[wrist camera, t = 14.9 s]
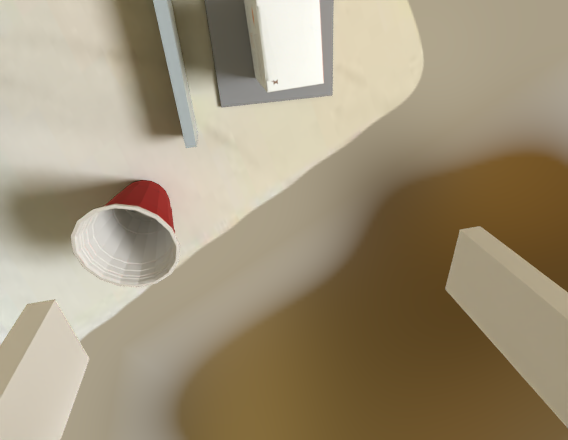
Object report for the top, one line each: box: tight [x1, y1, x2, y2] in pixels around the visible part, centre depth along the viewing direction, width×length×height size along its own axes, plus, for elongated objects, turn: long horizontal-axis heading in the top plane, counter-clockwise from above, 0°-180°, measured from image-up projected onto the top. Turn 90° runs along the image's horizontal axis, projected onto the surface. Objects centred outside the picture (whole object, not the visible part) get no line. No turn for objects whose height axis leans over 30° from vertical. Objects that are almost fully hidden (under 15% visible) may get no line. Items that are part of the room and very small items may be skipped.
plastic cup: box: [71, 180, 180, 287], centre depth 40 cm, size 11×11×12 cm
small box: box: [244, 0, 324, 92], centre depth 33 cm, size 8×6×10 cm
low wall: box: [153, 0, 198, 148], centre depth 35 cm, size 1×20×5 cm, turn 4°
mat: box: [205, 0, 333, 107], centre depth 38 cm, size 14×14×1 cm
